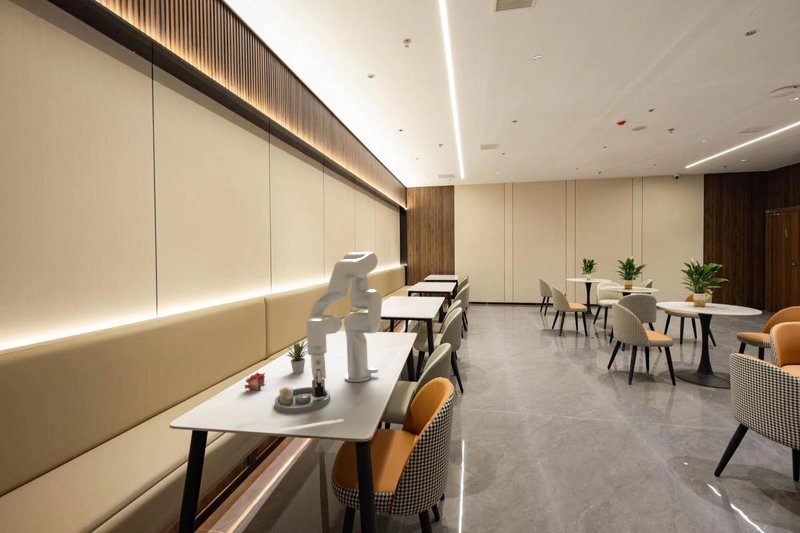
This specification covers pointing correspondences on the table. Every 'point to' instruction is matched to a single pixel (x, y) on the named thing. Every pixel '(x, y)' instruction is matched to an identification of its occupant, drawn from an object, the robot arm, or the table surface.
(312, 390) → the walnut bead
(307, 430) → the table surface
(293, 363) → the house plant
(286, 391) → the cream pillar candle
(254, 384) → the flower
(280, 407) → the groove tray
